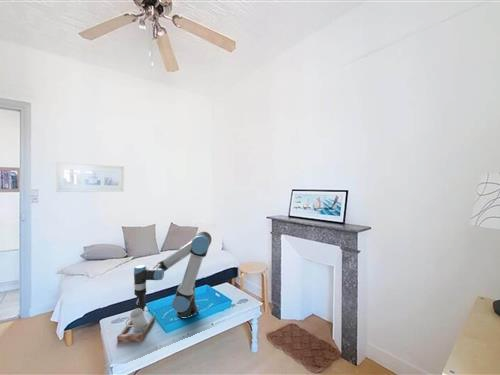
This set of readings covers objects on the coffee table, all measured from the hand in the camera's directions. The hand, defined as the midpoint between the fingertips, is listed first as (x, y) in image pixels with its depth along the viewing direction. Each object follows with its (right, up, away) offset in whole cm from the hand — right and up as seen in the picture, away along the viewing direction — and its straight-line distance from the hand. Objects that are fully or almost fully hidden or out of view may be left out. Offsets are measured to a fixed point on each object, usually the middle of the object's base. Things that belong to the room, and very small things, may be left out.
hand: (141, 321), depth 177 cm
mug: (0, -1, -5) cm, 5 cm away
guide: (+1, -2, -7) cm, 7 cm away
